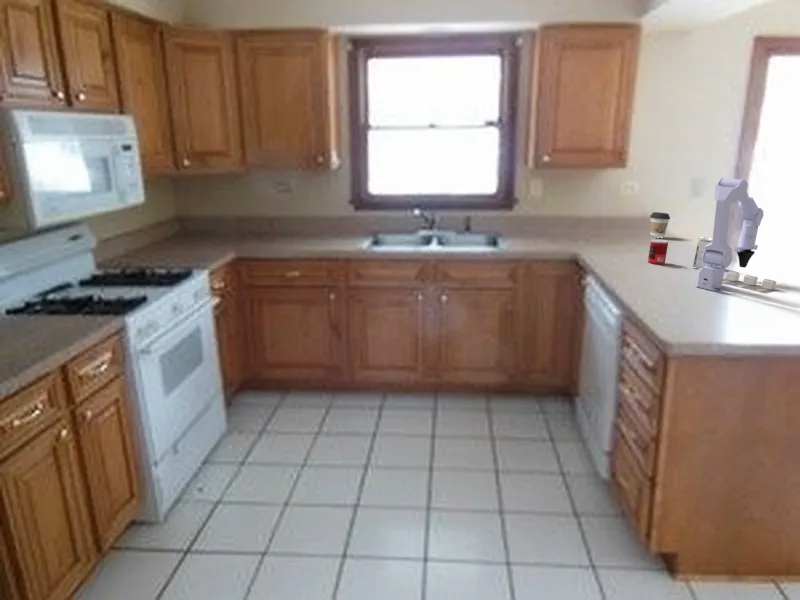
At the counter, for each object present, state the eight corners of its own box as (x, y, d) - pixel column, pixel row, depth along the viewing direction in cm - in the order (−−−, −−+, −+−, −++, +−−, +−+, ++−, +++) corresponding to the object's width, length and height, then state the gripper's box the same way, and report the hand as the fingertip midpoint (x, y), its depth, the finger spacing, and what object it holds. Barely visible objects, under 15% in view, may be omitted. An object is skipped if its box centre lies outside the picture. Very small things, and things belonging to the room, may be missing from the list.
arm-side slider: (734, 281, 259) (736, 273, 258) (725, 279, 263) (727, 271, 262) (738, 280, 261) (740, 272, 260) (729, 278, 264) (730, 270, 263)
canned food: (667, 263, 297) (670, 240, 294) (660, 265, 291) (664, 242, 288) (651, 260, 302) (654, 238, 299) (645, 262, 296) (648, 240, 293)
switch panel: (764, 295, 243) (765, 293, 242) (711, 283, 260) (712, 280, 260) (780, 292, 249) (780, 289, 249) (727, 280, 267) (727, 277, 266)
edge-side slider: (771, 289, 247) (773, 281, 246) (761, 287, 251) (762, 279, 250) (775, 288, 249) (776, 280, 248) (765, 286, 252) (766, 278, 251)
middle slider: (752, 285, 253) (754, 277, 252) (743, 283, 257) (744, 275, 256) (756, 284, 255) (758, 276, 254) (746, 282, 258) (748, 274, 257)
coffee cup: (648, 239, 365) (652, 214, 361) (644, 236, 376) (648, 211, 372) (669, 240, 363) (673, 215, 359) (664, 237, 374) (668, 212, 370)
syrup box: (695, 266, 292) (701, 236, 289) (709, 268, 289) (714, 238, 285) (692, 268, 288) (697, 237, 284) (706, 270, 285) (711, 239, 281)
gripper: (749, 238, 253) (742, 270, 257) (767, 236, 261) (760, 267, 265) (732, 235, 259) (726, 267, 263) (750, 233, 267) (744, 264, 270)
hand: (742, 267), depth 264 cm, fingers closed
